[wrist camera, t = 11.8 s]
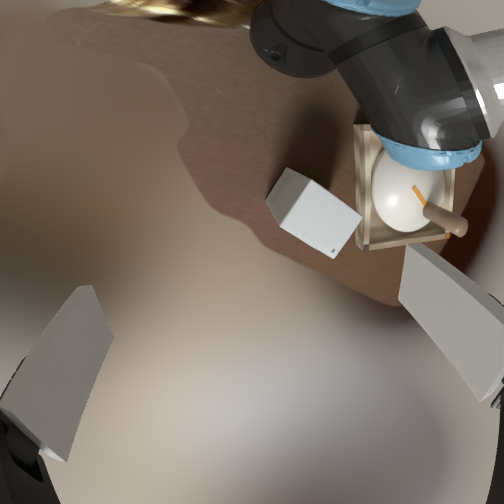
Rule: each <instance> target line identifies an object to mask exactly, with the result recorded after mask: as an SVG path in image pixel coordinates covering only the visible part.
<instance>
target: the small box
mask: <svg viewBox="0 0 504 504" xmlns="http://www.w3.org/2000/svg"><path fill="white" fill-rule="evenodd" d="M265 202H266V203H267V205H268V207H269V208H270V210H271V212H272V213H273V215H274V217H275V219H276V220H277V222H278V224H279V225H280V227H281V228H283V229H285V230H286V231H288V232H289V233H291V234H293V235H294V236H296V237H297V238H299V239H301V240H302V241H304V242H305V243H307V244H308V245H310V246H312V247H313V248H315V249H317V250H319V251H321V252H322V253H324V254H326V255H327V256H329V257H331V258H332V259H334V258H335V257H336V255H337V254H338V253H339V251H340V250H341V248H342V247H343V246H344V244H345V243H346V241H347V240H348V239H349V237H350V236H351V234H352V233H353V231H354V230H355V228H356V227H357V226H358V224H359V222H360V221H361V220H362V218H363V216H362V215H361V214H360V213H358V212H357V211H356V210H354V209H353V208H352V207H350V206H349V205H348V204H347V203H345V202H344V201H342V200H341V199H340V198H338V197H337V196H336V195H334V194H333V193H331V192H330V191H328V190H327V189H326V188H324V187H323V186H321V185H320V184H318V183H317V182H315V181H314V180H312V179H310V178H308V177H306V176H304V175H302V174H300V173H298V172H296V171H294V170H292V169H290V168H288V167H287V168H286V169H285V171H284V172H283V174H282V175H281V177H280V178H279V180H278V181H277V183H276V184H275V186H274V188H273V189H272V191H271V192H270V194H269V195H268V197H267V198H266V200H265Z"/></svg>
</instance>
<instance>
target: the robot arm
mask: <svg viewBox="0 0 504 504" xmlns="http://www.w3.org/2000/svg"><path fill="white" fill-rule="evenodd" d="M420 2H421V0H266V1H264V2H263V3H262V4H261V5H260V6H259V7H258V8H257V9H256V11H255V12H254V14H253V16H252V19H251V24H250V32H249V33H250V40H251V43H252V45H253V48H254V49H255V51H256V53H257V54H258V55H259V57H260V58H261V59H262V60H263V61H264V62H265V63H267V64H268V65H269V66H271V67H272V68H274V69H275V70H277V71H279V72H281V73H284V74H287V75H290V76H294V77H299V78H314V77H319V76H323V75H325V74H328V73H330V72H331V71H333V70H335V69H337V70H338V72H339V73H340V75H341V76H342V78H343V79H344V81H345V82H346V84H347V85H348V87H349V89H350V90H351V92H352V93H353V95H354V97H355V98H356V100H357V102H358V103H359V105H360V107H361V108H362V110H363V112H364V114H365V115H366V117H367V119H368V121H369V123H370V127H371V129H372V131H373V132H374V134H375V135H376V136H378V138H379V140H380V141H381V143H382V145H383V147H384V148H385V150H386V152H387V154H388V155H389V156H390V157H391V158H392V159H393V160H394V161H396V162H398V163H399V164H401V165H402V166H405V167H408V168H411V169H415V170H422V171H441V170H449V169H453V168H457V167H460V166H462V165H463V162H471V161H473V160H474V159H475V158H476V157H477V156H478V155H479V153H480V151H481V145H482V140H483V139H488V138H494V137H495V135H496V133H497V131H498V129H499V127H500V124H501V123H502V122H503V120H504V29H499V30H494V31H489V32H484V33H480V34H476V35H472V36H465V35H463V34H461V33H459V32H457V31H455V30H453V29H451V28H449V27H446V26H444V27H442V28H439V29H435V30H430V29H429V28H428V26H427V25H426V23H425V22H424V20H423V19H422V17H421V16H420V14H419V13H418V11H417V10H416V8H418V6H419V4H420ZM398 300H399V301H400V302H401V303H402V304H403V305H404V306H405V308H406V309H407V310H408V311H409V312H410V313H411V315H412V316H413V317H414V318H415V319H416V320H417V322H418V323H419V324H420V325H421V326H422V327H423V329H424V330H425V331H426V332H427V333H428V334H429V336H430V337H431V338H432V340H433V341H434V342H435V343H436V345H437V346H438V347H439V348H440V349H441V351H442V352H443V353H444V354H445V356H446V357H447V358H448V360H449V361H450V362H451V364H452V365H453V366H454V368H455V369H456V370H457V371H458V373H459V374H460V375H461V377H462V378H463V380H464V381H465V382H466V384H467V385H468V386H469V388H470V389H471V390H472V392H473V393H474V395H475V396H476V398H477V399H478V401H479V402H481V401H482V400H484V399H485V398H487V397H488V396H490V395H491V394H492V393H493V392H494V391H495V389H496V388H497V386H498V385H499V383H500V382H501V381H502V382H503V384H504V305H503V304H502V305H501V302H499V301H498V300H497V299H496V298H495V297H494V296H492V295H491V294H489V293H487V292H485V291H484V290H483V289H482V288H481V287H479V286H478V285H477V284H476V283H474V282H473V281H472V280H471V279H469V278H468V277H467V276H465V275H464V274H463V273H461V272H460V271H459V270H458V269H456V268H455V267H454V266H452V265H451V264H450V263H448V262H447V261H446V260H444V259H443V258H442V257H440V256H439V255H437V254H436V253H435V252H433V251H432V250H430V249H429V248H427V247H426V246H425V245H423V244H422V243H420V242H418V243H411V244H406V252H405V260H404V266H403V273H402V279H401V285H400V290H399V295H398ZM113 338H114V336H113V334H112V332H111V329H110V327H109V325H108V323H107V320H106V318H105V316H104V314H103V311H102V309H101V307H100V304H99V302H98V300H97V297H96V295H95V292H94V289H93V287H92V285H87V286H78V287H77V288H76V290H75V291H74V292H73V293H72V295H71V296H70V297H69V298H68V300H67V301H66V302H65V304H64V305H63V306H62V307H61V309H60V310H59V311H58V312H57V314H56V315H55V317H54V318H53V319H52V320H51V322H50V323H49V325H48V326H47V328H46V329H45V330H44V332H43V333H42V334H41V336H40V337H39V339H38V340H37V342H36V343H35V344H34V346H33V348H32V349H31V350H30V352H29V354H28V355H27V356H26V357H25V358H24V359H23V360H22V362H21V363H20V365H19V366H18V368H17V369H16V370H17V372H15V373H14V374H13V376H12V380H10V381H9V383H8V384H7V386H6V388H5V390H4V391H3V393H2V395H1V397H0V504H61V503H60V501H59V499H58V497H57V494H56V492H55V490H54V487H53V485H52V482H51V480H50V477H49V474H48V472H47V469H46V466H45V463H44V460H43V458H42V457H41V456H40V455H39V454H38V452H39V449H41V450H42V451H44V452H45V453H46V454H47V455H48V456H50V457H51V458H54V459H57V460H60V461H63V462H67V460H68V457H69V453H70V450H71V447H72V444H73V441H74V437H75V434H76V431H77V428H78V425H79V423H80V420H81V417H82V414H83V411H84V409H85V406H86V403H87V400H88V398H89V395H90V393H91V390H92V388H93V385H94V383H95V380H96V378H97V375H98V373H99V370H100V368H101V365H102V363H103V361H104V358H105V356H106V354H107V352H108V349H109V347H110V345H111V343H112V340H113ZM499 399H500V402H499V404H498V405H497V407H496V408H499V409H500V425H499V437H498V446H497V454H496V461H495V466H494V471H493V476H492V481H491V486H490V490H489V494H488V498H487V501H486V504H504V387H503V388H502V389H501V391H500V392H499V393H498V395H497V396H496V398H495V399H494V400H493V402H492V404H491V408H493V407H494V406H495V404H496V403H497V402H498V401H499Z"/></svg>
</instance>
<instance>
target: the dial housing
mask: <svg viewBox="0 0 504 504" xmlns="http://www.w3.org/2000/svg"><path fill="white" fill-rule="evenodd" d="M353 130H354V147H355V173H356V211H357V212H358V213H360V214H361V215H362V216H363V218H362V220H361V221H360V222H359V224H358V226H357V227H356V228H355V244H356V245H357V246H358V247H359V248H360V249H362V250H363V251H364V252H365V251H369V250H375V249H382V248H388V247H395V246H401V245H406V244H411V243H418V242H420V243H421V242H427V241H433V240H440V239H449V235H450V233H449V231H448V230H446V229H445V228H443V227H441V226H439V225H438V224H436V223H434V222H432V221H430V222H428V223H427V224H426V225H425V226H423V227H422V228H420V229H418V230H415V231H411V232H402V231H398V230H395V229H393V228H392V227H390V226H389V225H387V224H386V223H384V222H383V221H382V220H381V219H380V218H379V216H378V215H377V213H376V211H375V209H374V207H373V204H372V201H371V172H372V169H373V166H374V164H375V161H376V160H377V158H378V156H379V155H380V153H381V152H382V151H383V150H384V149H385V148H384V147H383V145H382V143H381V141H380V140H379V138H378V136H376V135H375V134H374V132H373V131H372V129H371V127H370V125H368V124H357V125H353ZM443 172H444V181H445V185H444V194H443V199H442V202H441V204H440V207H442V208H444V209H446V210H448V211H450V212H452V206H453V195H454V179H455V168H453V169H449V170H443Z"/></svg>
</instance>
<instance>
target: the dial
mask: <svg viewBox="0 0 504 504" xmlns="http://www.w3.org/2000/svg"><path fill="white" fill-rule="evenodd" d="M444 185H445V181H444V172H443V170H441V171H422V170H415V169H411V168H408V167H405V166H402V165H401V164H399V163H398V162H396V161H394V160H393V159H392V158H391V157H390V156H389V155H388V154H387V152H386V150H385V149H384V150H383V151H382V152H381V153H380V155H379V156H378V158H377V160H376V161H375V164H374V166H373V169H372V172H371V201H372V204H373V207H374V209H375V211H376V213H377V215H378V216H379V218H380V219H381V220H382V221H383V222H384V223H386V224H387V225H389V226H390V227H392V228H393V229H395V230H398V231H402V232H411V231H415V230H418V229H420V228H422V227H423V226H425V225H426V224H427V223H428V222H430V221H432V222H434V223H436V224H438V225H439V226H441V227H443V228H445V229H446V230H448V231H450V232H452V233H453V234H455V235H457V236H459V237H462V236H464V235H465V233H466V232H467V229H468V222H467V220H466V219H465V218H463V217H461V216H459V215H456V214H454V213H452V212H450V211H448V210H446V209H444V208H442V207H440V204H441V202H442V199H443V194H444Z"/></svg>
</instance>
